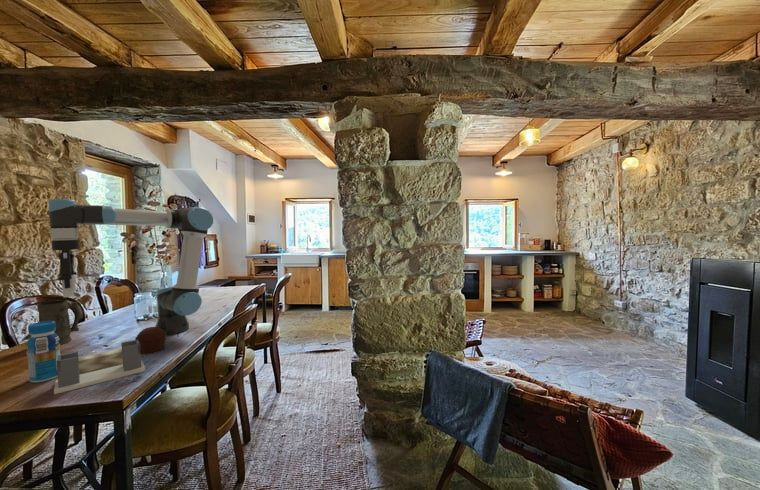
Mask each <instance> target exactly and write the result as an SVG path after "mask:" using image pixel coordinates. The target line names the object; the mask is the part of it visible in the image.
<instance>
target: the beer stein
mask: <svg viewBox="0 0 760 490" xmlns="http://www.w3.org/2000/svg"><path fill="white" fill-rule="evenodd" d="M36 309H37V311H38V322H44V321H55V323H56V329H55V331H53V332H54V333H56V334H57V335H58V337H59V339H60V340H59V344H60V346H61V345H64V344H67V343H70V342H71V341H72V338H71V333H73V332H79V330H80V328H79V327H78V324H79V321H80V320H81V314H82V313H81V310H80V307H79V304H78V301H73V302H71V303H69V304H68V301H67V300H51V301H45V302H40V303H38V304H37V308H36ZM69 309H73V310H74V311H73V312H74V319H73V323H72V326H71V325H70V324H71V323H70V314H69Z"/></svg>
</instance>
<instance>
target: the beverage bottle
mask: <svg viewBox="0 0 760 490" xmlns="http://www.w3.org/2000/svg"><path fill="white" fill-rule="evenodd" d="M27 329H28V330H27V331H28V332H27V333H28V335H29V336H30V337H29V338H28V340H27V342H26V344H25V345H26V348H27V349H26V352H25V353H26V356H27V364H28V365H27V366H28V367H27V368H28V381H29V382H30V383H43V382H47V381H50V380H53V379H56V378H58V373H57V358H58V355H61V345H60V344H59V340H60V339H59V337H58V335H57V334H56V333H54V332H53V331H55V329H56V323H55V321H44V322H39V321H38V322H34V323H30V324H29V325H28V327H27Z"/></svg>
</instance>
